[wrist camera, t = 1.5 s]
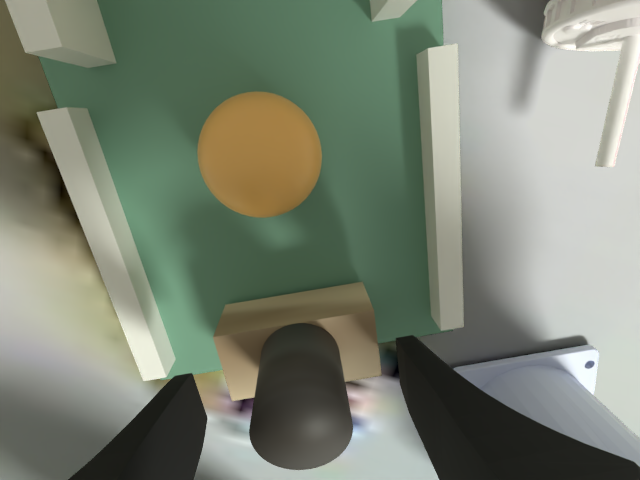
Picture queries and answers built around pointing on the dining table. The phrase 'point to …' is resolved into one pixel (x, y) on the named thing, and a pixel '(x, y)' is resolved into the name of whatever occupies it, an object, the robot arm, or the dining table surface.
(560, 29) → the smoothie
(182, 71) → the pitch
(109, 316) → the dining table surface
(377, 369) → the striker
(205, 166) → the ball
